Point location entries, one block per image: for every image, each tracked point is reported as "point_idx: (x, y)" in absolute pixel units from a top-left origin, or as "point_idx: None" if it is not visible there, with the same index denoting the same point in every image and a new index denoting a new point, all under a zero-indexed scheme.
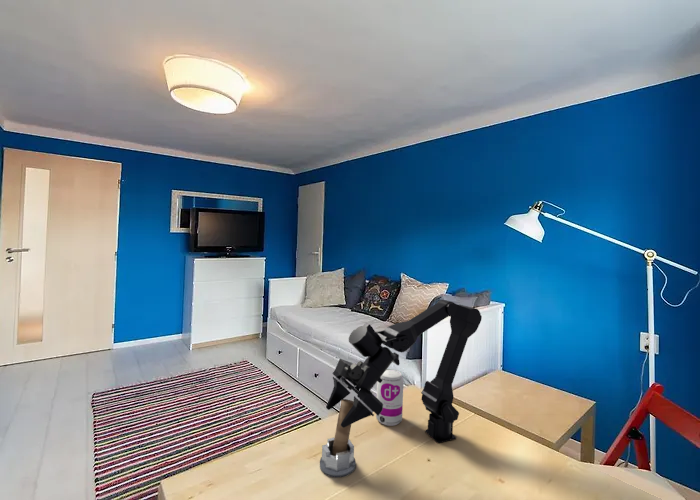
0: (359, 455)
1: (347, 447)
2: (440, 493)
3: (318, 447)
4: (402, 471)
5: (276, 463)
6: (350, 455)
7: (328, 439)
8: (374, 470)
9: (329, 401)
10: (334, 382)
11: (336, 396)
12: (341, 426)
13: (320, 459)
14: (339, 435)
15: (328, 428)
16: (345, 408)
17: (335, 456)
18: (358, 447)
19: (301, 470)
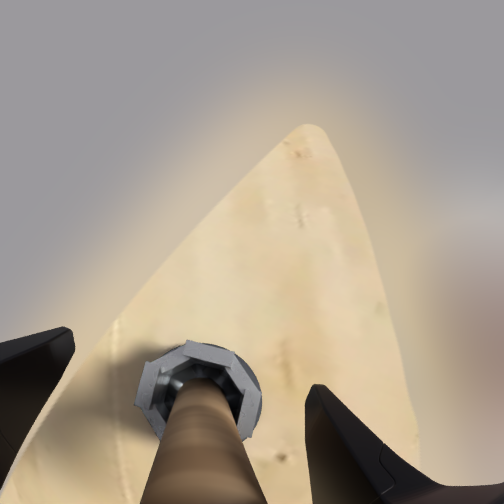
0: None
1: None
2: (12, 478)
3: None
4: (87, 501)
5: (304, 261)
6: (144, 414)
7: (256, 393)
8: (124, 462)
9: (333, 411)
10: (467, 492)
11: (338, 481)
12: (178, 418)
13: (241, 359)
14: (182, 403)
15: None
16: (162, 468)
17: (168, 369)
18: None
19: (243, 300)
